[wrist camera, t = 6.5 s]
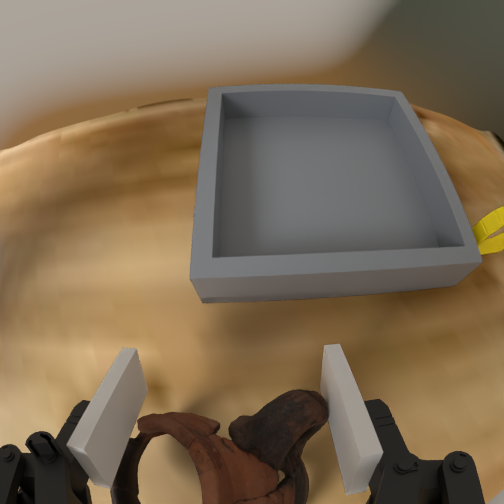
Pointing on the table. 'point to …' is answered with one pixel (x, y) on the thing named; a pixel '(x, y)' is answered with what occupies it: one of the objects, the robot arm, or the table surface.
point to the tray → (322, 197)
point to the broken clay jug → (236, 452)
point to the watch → (490, 232)
